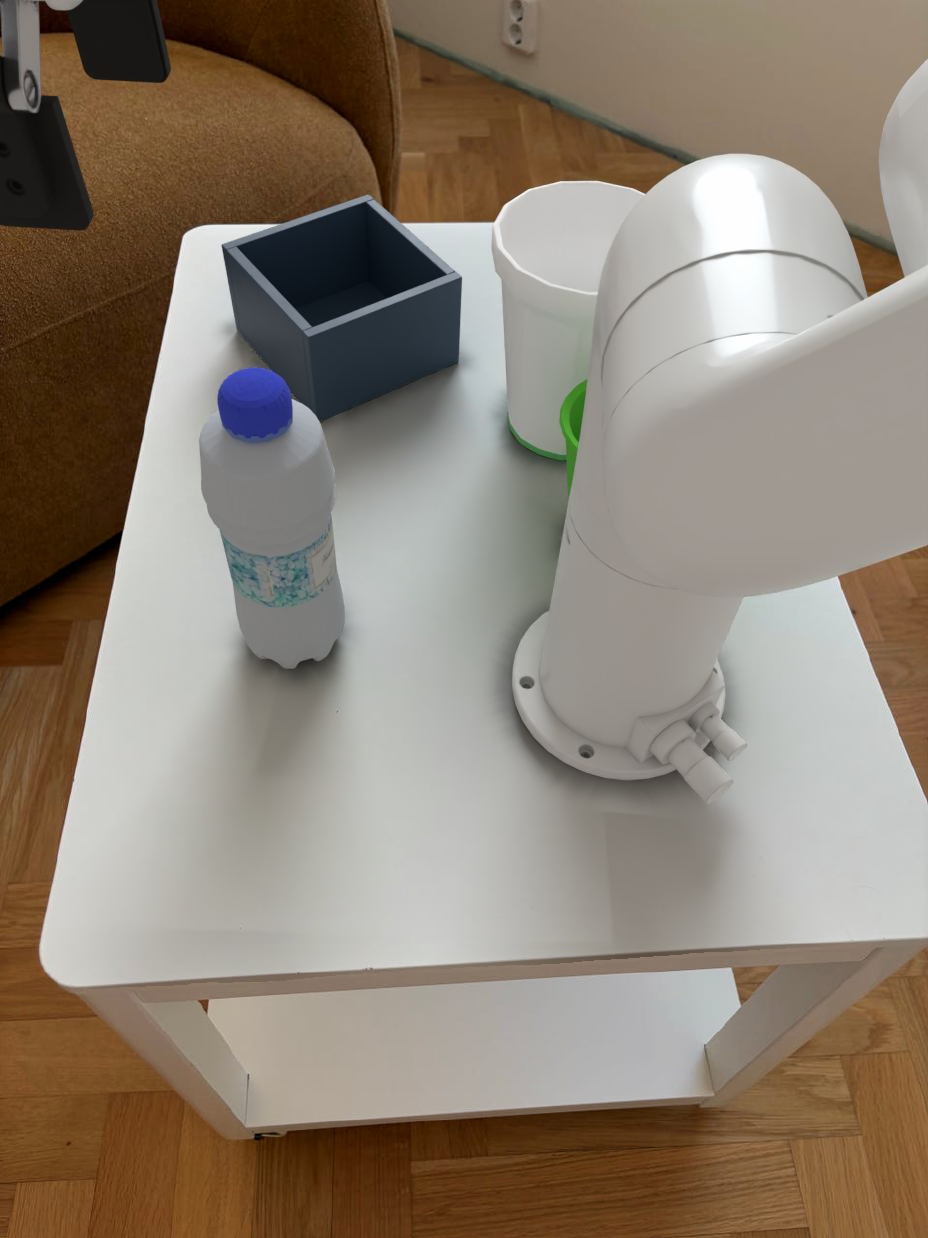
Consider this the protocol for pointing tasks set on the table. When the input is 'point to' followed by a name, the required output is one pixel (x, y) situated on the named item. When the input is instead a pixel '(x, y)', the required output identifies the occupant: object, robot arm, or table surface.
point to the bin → (344, 304)
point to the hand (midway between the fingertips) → (91, 144)
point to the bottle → (274, 516)
